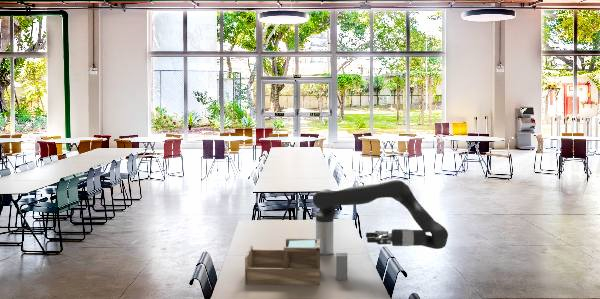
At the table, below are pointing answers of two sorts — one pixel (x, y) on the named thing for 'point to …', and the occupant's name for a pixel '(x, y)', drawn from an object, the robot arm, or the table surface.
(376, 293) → the table surface
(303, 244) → the trapdoor
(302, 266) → the trapdoor frame
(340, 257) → the granite stone
